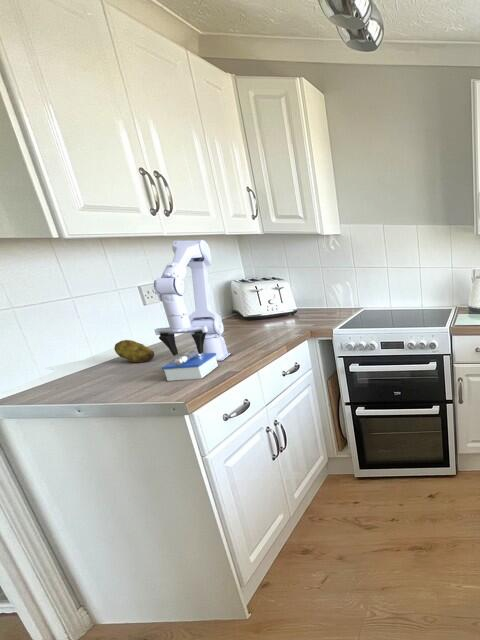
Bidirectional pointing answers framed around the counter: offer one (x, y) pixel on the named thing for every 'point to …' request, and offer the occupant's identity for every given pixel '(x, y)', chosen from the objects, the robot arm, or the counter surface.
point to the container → (191, 368)
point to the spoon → (187, 357)
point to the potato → (133, 351)
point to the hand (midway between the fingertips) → (188, 353)
